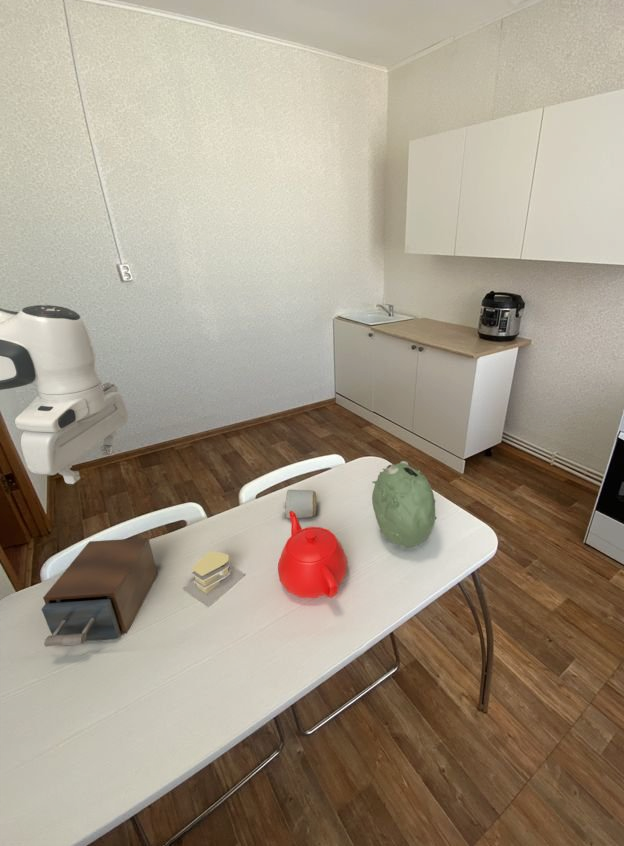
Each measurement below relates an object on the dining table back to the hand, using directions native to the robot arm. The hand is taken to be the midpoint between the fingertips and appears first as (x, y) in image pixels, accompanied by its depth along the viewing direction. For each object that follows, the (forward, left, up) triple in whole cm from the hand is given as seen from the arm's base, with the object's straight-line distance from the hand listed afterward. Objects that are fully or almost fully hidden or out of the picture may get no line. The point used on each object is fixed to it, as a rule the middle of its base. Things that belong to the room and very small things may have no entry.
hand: (92, 466), depth 72 cm
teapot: (+40, +2, -32) cm, 51 cm away
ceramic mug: (+36, +25, -32) cm, 54 cm away
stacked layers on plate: (+18, +2, -32) cm, 37 cm away
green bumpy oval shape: (+63, +12, -32) cm, 71 cm away
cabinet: (-2, -2, -32) cm, 32 cm away
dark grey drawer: (-2, -7, -31) cm, 32 cm away
